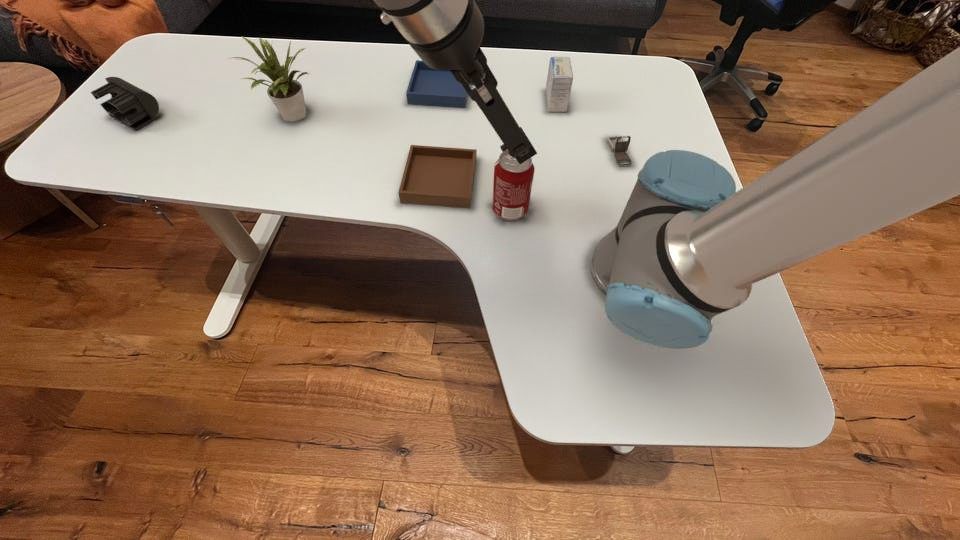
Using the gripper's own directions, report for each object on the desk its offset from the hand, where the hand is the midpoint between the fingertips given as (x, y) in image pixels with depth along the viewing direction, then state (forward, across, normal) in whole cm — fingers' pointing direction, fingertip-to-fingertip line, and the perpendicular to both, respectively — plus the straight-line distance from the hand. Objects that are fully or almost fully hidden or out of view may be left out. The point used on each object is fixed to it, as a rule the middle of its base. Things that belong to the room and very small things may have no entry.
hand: (506, 119), depth 61 cm
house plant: (+12, -41, -41) cm, 59 cm away
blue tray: (+29, -37, -11) cm, 48 cm away
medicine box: (+38, -22, +10) cm, 45 cm away
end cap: (-1, -53, -68) cm, 86 cm away
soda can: (+21, +2, -8) cm, 23 cm away
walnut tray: (+18, -9, -18) cm, 27 cm away
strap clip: (+36, -2, +15) cm, 39 cm away
